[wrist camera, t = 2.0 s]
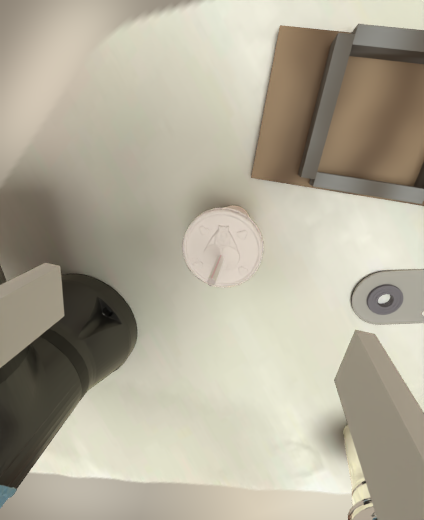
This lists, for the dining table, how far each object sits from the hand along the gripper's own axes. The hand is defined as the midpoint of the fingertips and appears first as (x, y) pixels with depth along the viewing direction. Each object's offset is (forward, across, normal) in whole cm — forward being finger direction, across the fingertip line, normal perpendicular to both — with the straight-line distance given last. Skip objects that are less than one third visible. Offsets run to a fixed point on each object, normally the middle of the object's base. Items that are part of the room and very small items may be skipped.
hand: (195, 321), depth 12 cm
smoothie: (+19, 0, 0) cm, 19 cm away
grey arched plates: (+20, +20, -5) cm, 29 cm away
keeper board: (+19, +11, +11) cm, 25 cm away
